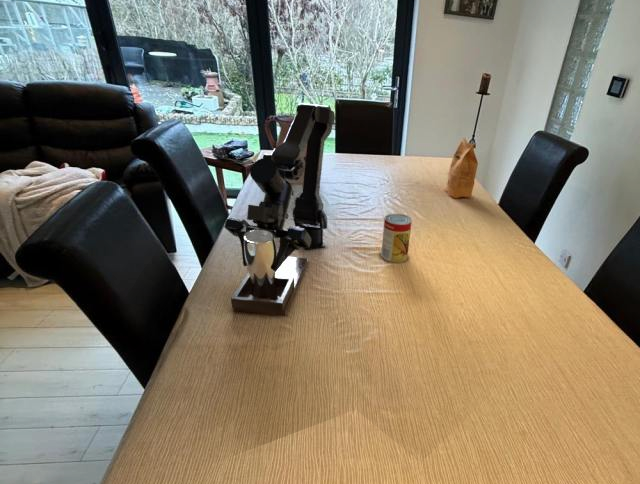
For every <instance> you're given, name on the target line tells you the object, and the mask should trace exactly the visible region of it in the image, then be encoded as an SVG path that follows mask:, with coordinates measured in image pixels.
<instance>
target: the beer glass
mask: <svg viewBox="0 0 640 484" xmlns="http://www.w3.org/2000/svg"><path fill="white" fill-rule="evenodd" d="M277 253H278V248H277V242H276V238H275V235H274V233H273V232H271V231H268V230H262V229H258V230H252V231H249V232H247V233H245V234H244V255H245V261H246V264H247V266H246V268H247V270H248V274H250V277H251V282H252V286H251V295H252V297H253V298H256V299H267V300H269V299H272V298H274V297H275V296H276V295H277V293H278V291H277V287H276V283H275V272H276V271H274V270H273V268H274V263H275V260H276V256H277Z"/></svg>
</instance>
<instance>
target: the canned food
mask: <svg viewBox="0 0 640 484" xmlns="http://www.w3.org/2000/svg"><path fill="white" fill-rule="evenodd" d="M412 222H413V219H412V218H411V217H410V216H408V215H407V214H403V213H388V214H386V215H384V219H383V231H382V242H381V252H380V253H381V255H380V256H381V258H382V259H383V260H385V261H387V262H390V263H402V262H405V261H406V260H407V259H408V255H409V246H410V239H411V231H412V225H413V223H412Z"/></svg>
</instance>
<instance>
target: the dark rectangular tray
mask: <svg viewBox="0 0 640 484" xmlns="http://www.w3.org/2000/svg"><path fill="white" fill-rule="evenodd" d="M307 265H308V258H307V257H299V256H288V258H287V259H286V260H285V261H284V262H283V264H282V265H281V266H280V267H279V269H278V270H277V271H276V272H275V283H276V287H277V291H278V293H277V295H276V296H275V297H274V298H272V299H269V300H267V299H256V298H253V297H252V295H251V286H252V282H251V277H250V274H249V273H247V274H246V275H245V276H244V278H243V279H242V281H241V282H240V284H239V285H238V287H237V289H236V290H235V292H233V294H232V295H231V298H230V304H231V308H232V311H233V312H240V313H241V312H243V313H251V314H252V313H255V314H264V315H277V316H286V315H287V313H288V310H289V309H290V306H291V304H292V301H293V298H294V296H295V294H296V291H297V290H298V287H299V284H300V282H301V279H302V277H303V275H304V272H305V270H306V267H307Z"/></svg>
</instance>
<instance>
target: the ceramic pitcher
mask: <svg viewBox="0 0 640 484" xmlns="http://www.w3.org/2000/svg"><path fill="white" fill-rule="evenodd" d="M295 116H296V115H292V114H289V115H287V114H286V115H269V116H267V118H265V121H264V130H265V135H266V137H267V139H268V141H269V144H270V146H271V148H272V150H273V151H274V149H275V148H276V147H277V146H279V145H281V144H283V143H284V141H285V139H286V137H287V134H288V132H289V130H290V127H291V125H292V123H293V121H294V118H295ZM271 121H275V122H276V123H278V126H279V128H280V129H279V130H280V131H279V134H278V138H277V141H276V142H275V139H274V137H273V134H272V132H271V128H270V123H271ZM306 149H307V144H306V146H305V149H304V151H303V154H302V158H303V162H304V168H305V160H306ZM273 151H272V152H273ZM304 170H305V169H304ZM285 180H287V181H288V182H289V183H290V184H291V185H303V181H304V172H303V175H302V176H301V177H300V179H299V180H289V179H285Z"/></svg>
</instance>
